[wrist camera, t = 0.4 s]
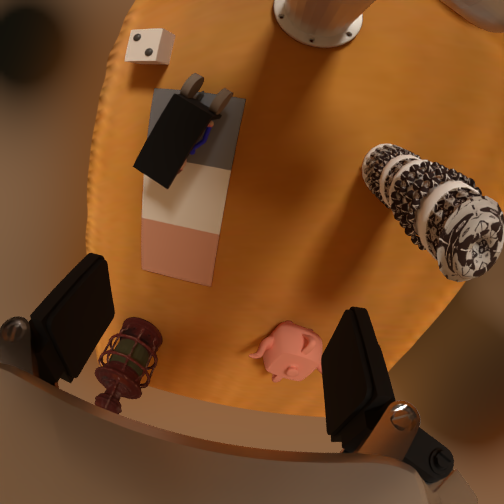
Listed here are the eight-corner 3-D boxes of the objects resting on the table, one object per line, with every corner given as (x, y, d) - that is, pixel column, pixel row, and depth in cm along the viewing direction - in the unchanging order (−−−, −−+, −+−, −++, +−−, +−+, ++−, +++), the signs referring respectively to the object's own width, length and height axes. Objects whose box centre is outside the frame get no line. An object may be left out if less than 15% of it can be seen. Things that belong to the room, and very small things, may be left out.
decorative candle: (415, 145, 35) (528, 204, 13) (406, 200, 40) (494, 295, 18) (362, 136, 36) (460, 185, 14) (356, 194, 40) (425, 297, 19)
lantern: (158, 356, 65) (120, 458, 39) (116, 334, 63) (66, 430, 37) (172, 330, 59) (126, 449, 33) (124, 305, 57) (62, 415, 31)
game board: (155, 88, 35) (154, 88, 34) (245, 99, 35) (245, 99, 35) (142, 268, 51) (141, 269, 51) (211, 285, 52) (210, 286, 51)
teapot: (324, 310, 52) (330, 349, 43) (327, 348, 58) (331, 385, 49) (253, 318, 55) (247, 357, 46) (264, 355, 60) (261, 392, 52)
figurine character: (200, 77, 34) (149, 160, 40) (187, 66, 27) (128, 167, 33) (238, 98, 36) (184, 182, 41) (233, 91, 29) (169, 193, 34)
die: (146, 35, 30) (131, 29, 26) (175, 35, 30) (162, 28, 26) (140, 64, 33) (124, 61, 28) (169, 64, 33) (155, 60, 28)
